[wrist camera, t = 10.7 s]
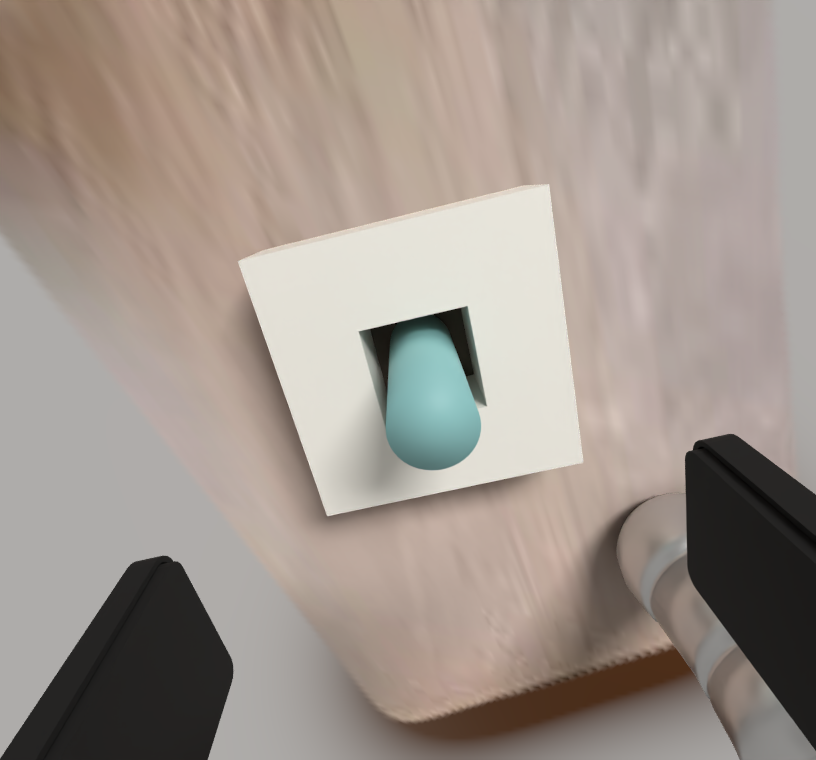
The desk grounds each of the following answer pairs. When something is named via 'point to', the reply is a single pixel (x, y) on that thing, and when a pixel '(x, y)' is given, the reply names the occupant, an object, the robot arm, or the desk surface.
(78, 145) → the desk surface
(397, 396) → the peg
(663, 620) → the plastic bottle
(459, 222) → the hole block
